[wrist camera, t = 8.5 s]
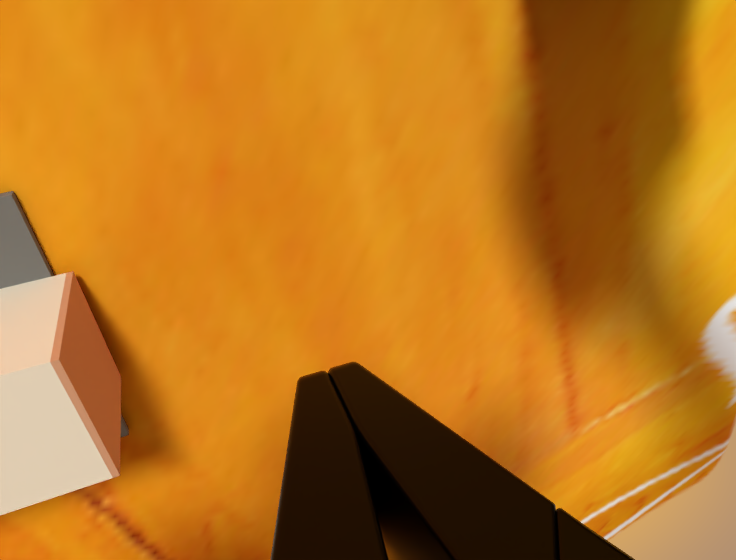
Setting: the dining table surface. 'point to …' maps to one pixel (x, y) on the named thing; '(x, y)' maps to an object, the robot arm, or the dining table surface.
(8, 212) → the slate mat
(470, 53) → the dining table surface
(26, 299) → the cream block
